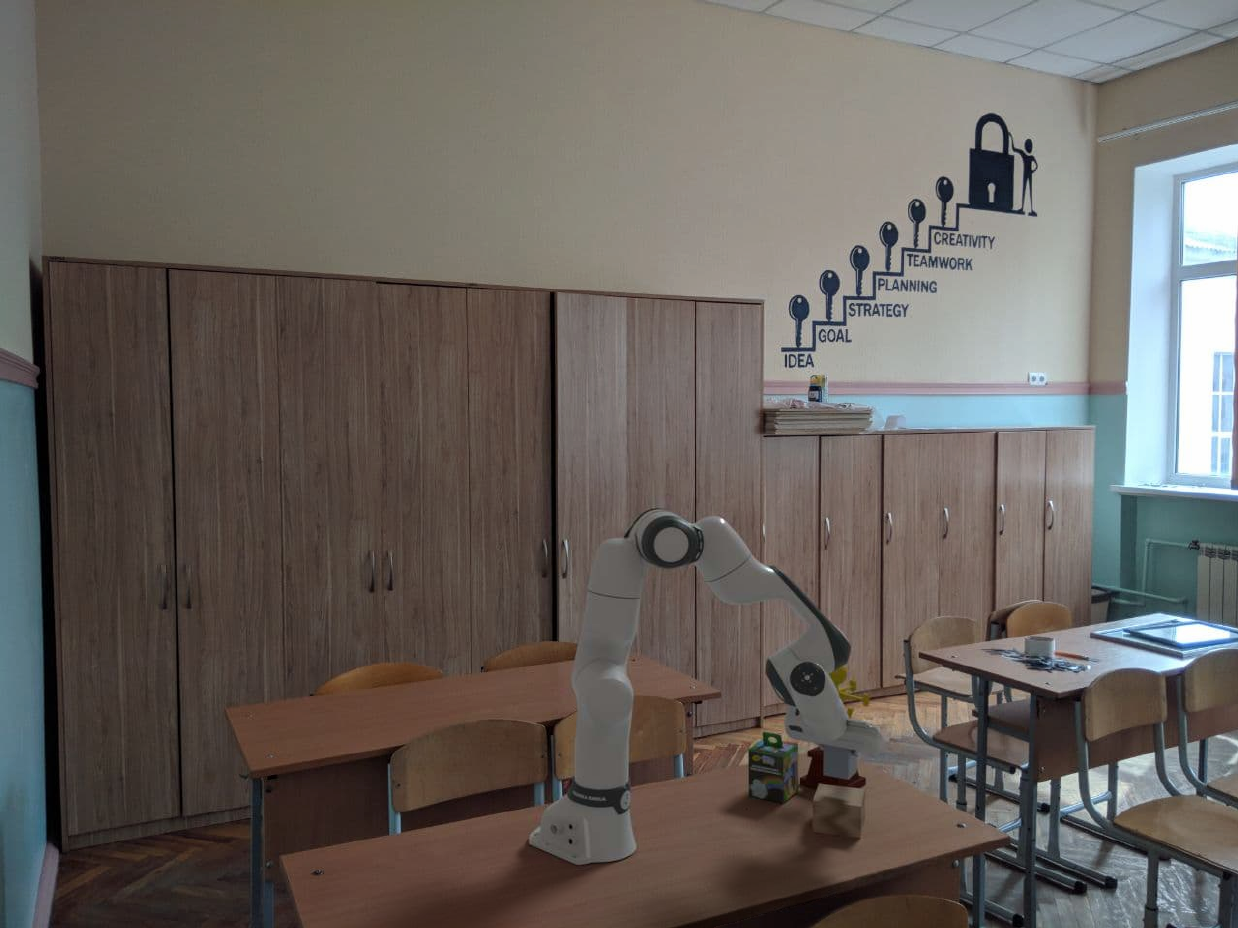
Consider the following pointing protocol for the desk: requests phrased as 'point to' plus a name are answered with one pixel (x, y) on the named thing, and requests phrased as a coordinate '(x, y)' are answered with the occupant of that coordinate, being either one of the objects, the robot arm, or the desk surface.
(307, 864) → the desk surface
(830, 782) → the trophy
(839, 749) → the lidded storage box
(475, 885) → the desk surface
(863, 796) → the walnut box
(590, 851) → the robot arm
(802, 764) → the desk surface
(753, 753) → the chalk box
